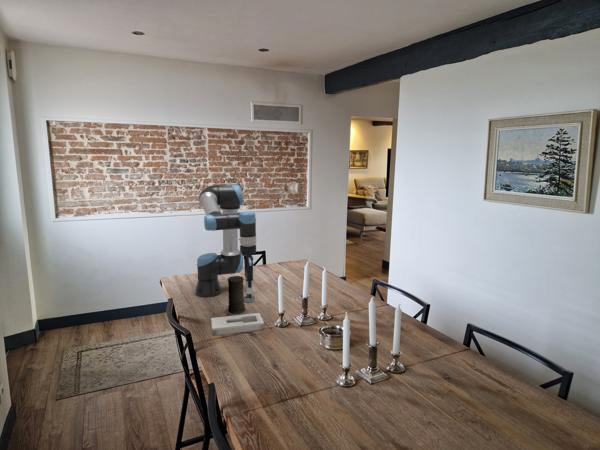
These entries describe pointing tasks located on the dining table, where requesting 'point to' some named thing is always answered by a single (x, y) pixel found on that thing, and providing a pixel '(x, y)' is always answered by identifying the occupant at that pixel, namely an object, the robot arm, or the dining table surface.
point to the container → (236, 295)
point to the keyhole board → (237, 324)
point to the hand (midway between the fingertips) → (249, 292)
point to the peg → (249, 296)
